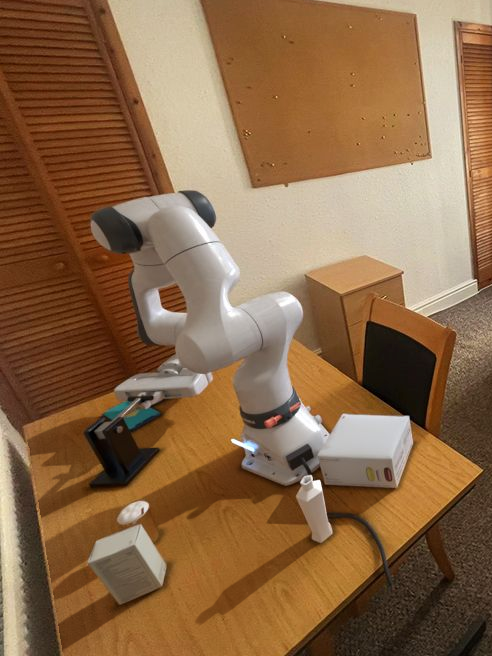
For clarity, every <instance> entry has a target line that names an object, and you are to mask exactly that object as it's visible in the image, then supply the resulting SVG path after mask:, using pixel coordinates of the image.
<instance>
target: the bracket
mask: <svg viewBox="0 0 492 656" xmlns="http://www.w3.org/2000/svg"><path fill="white" fill-rule="evenodd" d="M104 422H108V421H107V418H106V417H99V418H98V419H97V420H95V421H94V422H92V424H91V425H90V426H88V427H87V428H86V429H85V430H83V431H82V433H83V435H84V437H85V439H86V440H87V442H88V444H89V445H90V448H91V449H92V451H93V452H94V454H95V456H96V458H97V460H98V462H99V463H100V465H101V467H102V469H103V470H101V471H100V473H99V474H98V475H97V476H95V477H94V478H93V479H92V480H91V481H90V482H89V483H88V486H89V488H90V489H94V488H95V489H96V488H97V489H98V488H114V487H115V488H116V487H128V486H129V485H130V484H131V483H132V482H133V481H134V480H135V478H137V476H139V474H140V473H141V472H142V471H143V470H144V469H145V468H146V467H147V465H149V463H150V462H152V460H153V459H154V458H155V457H156V456H157V455H158V454H159V453H160V452H161V450H160V448H159V447H140V448H139V446H138V444H137V442H136V439H135V437H134V436H133V434H132V431H130V430H129V428H128V426H127V424H126V422H125V420H124V418H123V417H118V418H117V419H115V420H114V421H113V422H112V423H111V424H110V425H108V426H107V427H106V428H105V429H104V430H103V431H102V433H103V434H104V436H105V438H106V439H98V437H97V436H96V434H95V433H94V431H95V430H96V429H97V428H98V427H99V426H101V425H102V424H103V423H104Z"/></svg>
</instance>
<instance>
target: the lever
mask: <svg viewBox="0 0 492 656" xmlns="http://www.w3.org/2000/svg"><path fill="white" fill-rule="evenodd" d="M153 399H154V396H131V397H128V399H127V401H129V402H131V401H133V402H132V403H131V404H130V405H129V406H128V407H126V408H125V409H124V410H123V411H122V412H121V413H120V414H119V415H118V416H117V417H116V418H114V419H113V420H112V421H111V420H110V421H107V422H104V423H103V424H102V425H101V426H99V427H98V428H97V429H96V430H95V431H94V433H95V434H96V436H97V437H98V439H106V438H105V436H104V434H103V433H102V431H103V430H104V429H105V428H106V427H107V426H108V425H110V424H111V423H112V422H113V421H114V420H115V419H117V418H118V417H123V418H125V417H126V416H127V415H128V414H129V413H130V412H131V411H132V410H133V409H134V408H136V407H137V406H138V405H139V404H140V403H141V402H142V401H152V400H153Z"/></svg>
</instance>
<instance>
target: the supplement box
mask: <svg viewBox="0 0 492 656" xmlns="http://www.w3.org/2000/svg"><path fill="white" fill-rule="evenodd" d="M329 434H330V435H329V437H328V439H327V440H326V442H325V444H324V445H323V447H322V448H321V450H320V452H319V454H318V455H317V456H318V460H319V463H320V467H319V468H320V470H321V475H322V478H323V482H324V485H325V486H326V485H327V486H328V485H329V486H347V487H348V486H350V487H366V488H367V487H368V488H369V487H370V488H388V489H390V488H392V489H397V488H398V486H399V484H400V481H401V477H402V475H403V472H404V470H405V467H406V464H407V461H408V458H409V455H410V453H411V450H412V447H413V445H414V440H413V434H412V427H411V421H410V415H387V414H386V415H383V414H382V415H381V414H354V413H342V414H341V416H340V417H339V418H338V420H337V422H336V424H335V425H334V427H333V429H332V430H331V432H330V433H329Z"/></svg>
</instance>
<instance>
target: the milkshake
mask: <svg viewBox="0 0 492 656" xmlns="http://www.w3.org/2000/svg"><path fill="white" fill-rule="evenodd" d="M116 522H117V523H118V525H119V526H121V528H122V530H125V529H128V528H131V527H133V526H136V525H139V524H141V525H142V527H143V528H144V530H145V531H146V533H147V535H148V536H149V538H150V539H151V541H152V542H153V544H154V543H156V541H157V540H158V538H159V536H160V535H159V530H158V528H157V524H156V521H155V520H154V517H153V514H152V510H151V507H150V504H149V502H148V501H145V500H137V501H134V502H131V503H130V504H128V505H126V506H125V507H124V508H123V509H122V510H120V513H119V514H118V516H117V518H116Z"/></svg>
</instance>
